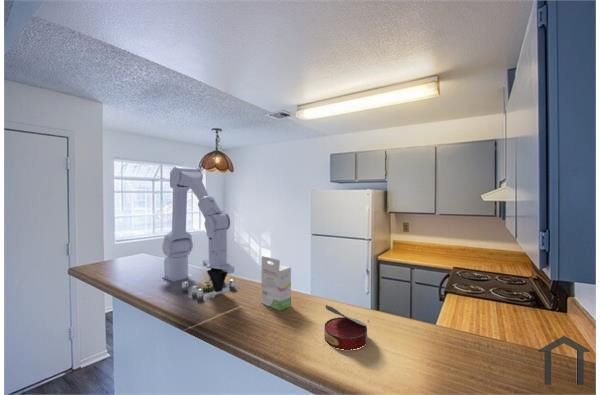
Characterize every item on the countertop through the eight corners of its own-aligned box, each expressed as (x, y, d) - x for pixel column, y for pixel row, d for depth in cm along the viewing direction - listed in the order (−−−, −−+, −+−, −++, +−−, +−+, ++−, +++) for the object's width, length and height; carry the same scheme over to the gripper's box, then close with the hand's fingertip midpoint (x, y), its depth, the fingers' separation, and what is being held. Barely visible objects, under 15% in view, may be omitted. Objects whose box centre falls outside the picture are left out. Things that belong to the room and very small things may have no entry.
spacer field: (174, 292, 96) (174, 282, 96) (214, 280, 109) (214, 271, 109) (199, 303, 87) (199, 292, 87) (240, 288, 99) (240, 279, 99)
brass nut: (195, 289, 98) (195, 283, 98) (208, 285, 102) (208, 279, 102) (204, 292, 95) (203, 286, 95) (216, 288, 99) (216, 282, 99)
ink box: (292, 306, 85) (292, 257, 84) (280, 311, 81) (279, 260, 81) (272, 298, 91) (272, 252, 90) (260, 303, 87) (260, 255, 87)
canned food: (326, 351, 70) (321, 308, 74) (367, 347, 69) (359, 304, 74) (326, 354, 59) (320, 304, 64) (374, 349, 59) (365, 299, 64)
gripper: (194, 249, 95) (195, 289, 95) (221, 255, 86) (221, 300, 86) (212, 245, 100) (213, 283, 101) (239, 251, 91) (239, 293, 92)
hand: (218, 290), depth 94 cm, fingers closed
